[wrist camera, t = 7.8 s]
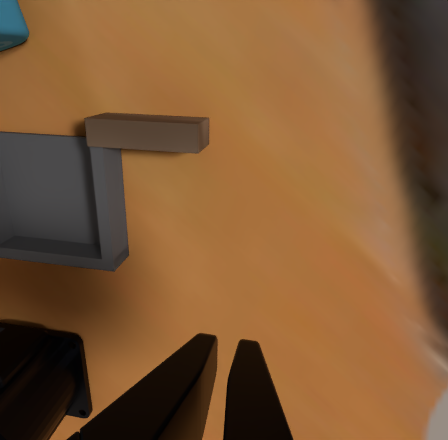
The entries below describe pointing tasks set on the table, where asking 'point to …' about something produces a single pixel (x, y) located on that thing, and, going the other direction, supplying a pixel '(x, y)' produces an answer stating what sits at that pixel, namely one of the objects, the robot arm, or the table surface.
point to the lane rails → (148, 132)
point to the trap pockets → (61, 201)
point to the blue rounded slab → (11, 25)
